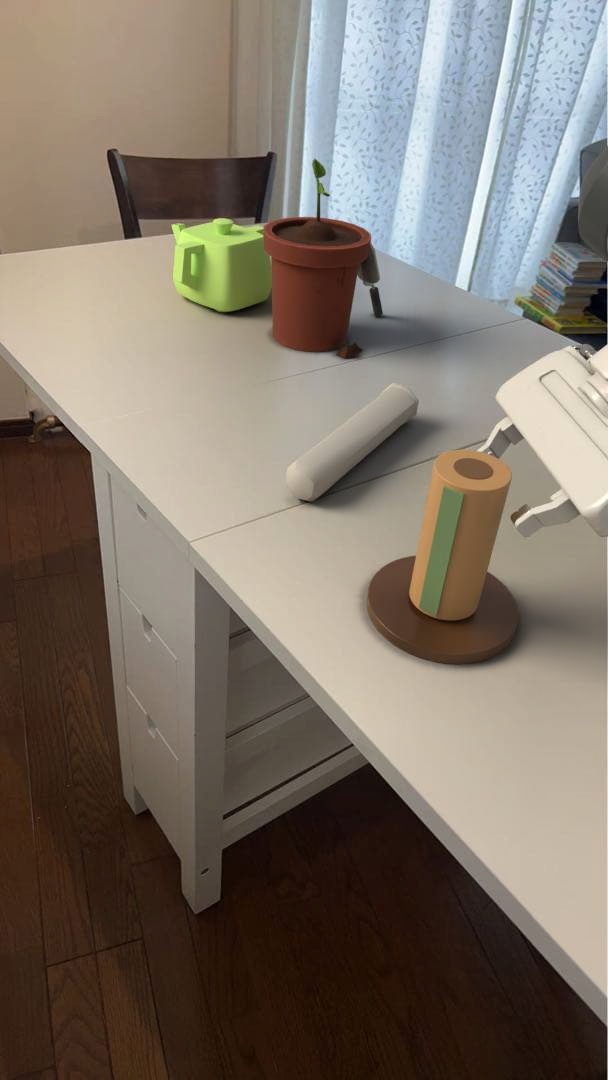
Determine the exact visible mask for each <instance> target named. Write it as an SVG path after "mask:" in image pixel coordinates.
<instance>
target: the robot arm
mask: <svg viewBox="0 0 608 1080" xmlns="http://www.w3.org/2000/svg"><path fill="white" fill-rule="evenodd" d="M577 209H578V211H577V225H578V226H577V227H578V234H579V237H580V238H581V240H582V241H583V242H585V243H586V244H587V245H588V246H589V247H590V248H592V250H593V251H595V252H596V253H597V254H598V255H599V256H601V258H603V260H605V261H606V262H607V263H608V145H607V146H605V148H603V150H602V151H600V153H599V154H598V155H597V157H596V158H595V159H594V160H593V162H591V164H590V165H589V167H588V169H587V170H586V172H585V173H584V176H583V179H582V183H581V186H580V191H579V198H578V207H577ZM494 399H495V401H496V403H497V404H498V406H499V407H500V408H501V409H502V411H503V412H504V413H505V415H506V416H505V417H504V418H503V419H501V420H500V421H499V422H497V423H496V425H495V426H494V428H493V429H492V431H491V433H490V435H489V436H488V438H487V440H486V441H485V444H483V445H482V446H480V447H479V448H478V449H477V450H476V451H479V452H483V453H486V454H489V455H492V456H494V457H496V458H498V459H499V460H500V458H501V457H502V456H503V455H504V453H505V452H506V451H507V449H508V448H509V447H510V445H511V444H512V445H513V446H516V445H517V444H518V443H520V442H521V441H523V440H525V442H526V443H527V444H528V445H529V447H530V448H531V449H532V451H533V452H534V453H535V455H536V456H537V457H538V459H539V460H540V461H541V463H543V466H544V467H545V468H546V469H547V471H548V472H549V473H550V475H551V476H552V477H553V479H554V480H555V482H556V483H557V484H558V486H559V487H560V489H559V490H558V491H556V492H555V493H553V494H552V495H551V496H550V497H549V499H550V500H551V501H550V502H547V503H545V504H542V505H541V504H540V505H539V506H535V507H530V506H529V504H528V503H524V504H523V505H522V506H520V507H519V508H518V510H516V511H514V512H512V513H511V515H510V518H509V519H510V521H511V522H512V524H513V526H514V527H515V529H516V530H517V531H518V533H519V534H520V535H521V536H522V537H524V538H529V537H531V536H532V535H534V534H535V533H536V532H538V531H540V530H541V529H542V528H544V527H545V528H547V527H551V526H557V525H562V524H568V523H570V522H572V521H573V520H574V519H576V518H577V517H578V516H580V515H581V516H582V517H583V519H584V520H585V521H586V523H587V524H588V526H589V527H590V528H591V529H592V530H593V532H595V533H596V534H597V536H599V537H600V538H607V537H608V343H607V344H606V345H605V346H603V347H602V348H601V349H599V350H598V351H596V350H595V348H594V347H593V346H591V345H590V344H587V343H583V344H576V345H568V346H565V347H564V348H562V349H559V350H558V349H557V350H554V351H552V352H550V353H548V354H546V355H544V356H543V357H541V358H539V359H538V360H536V361H534V362H533V363H531V364H530V365H529V366H527V367H525V368H524V369H522V370H521V371H519V372H518V373H516V374H515V375H514V376H512V377H511V378H509V379H508V380H507V381H505V382H504V383H503V384H502V385H500V387H499V388H498V390H497V392H496V394H495V397H494Z"/></svg>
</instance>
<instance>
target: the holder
mask: <svg viewBox="0 0 608 1080" xmlns="http://www.w3.org/2000/svg"><path fill="white" fill-rule="evenodd" d="M415 560H416V555H410V556H405V557H401V558H398V559H395V560H392V561H391V562H389V563H387V564H385V565H384V566H382V567H381V568H380V569H379V570H378V571H377V572H376V573H375V574H374V575H373V577H372V578H371V580H370V582H369V586H368V589H367V595H366V608H367V609H366V610H367V612H368V617H369V619H370V621H371V623H372V625H373V626H374V627H375V630H377V632H378V633H379V634H380V635H382V637H383V638H384V639H386V640H387V641H388V642H389V643H391V644H392V645H393V646H394V647H397V648H398V649H399V650H401V651H403V652H405V653H407V654H409V655H412V656H415V657H418V658H419V659H422V660H427V661H429V662H435V663H442V664H448V665H449V664H450V665H451V664H452V665H463V664H464V665H465V664H472V663H478V662H481V661H484V660H488V659H490V658H492V657H494V656H496V655H498V654H499V653H501V652H502V651H504V649H506V648H507V647H508V646H509V645H510V643H511V642H512V640H513V638H514V635H515V633H516V630H517V626H518V624H519V623H518V622H519V615H520V614H519V608H518V605H517V602H516V599H515V597H514V595H513V594H512V592H511V591H510V590H509V588H508V587H507V586H506V585H505V584H504V583H503V582H502V581H501V580H500V579H498V578H497V577H496V576H495V575H493V574H492V573H490V572H489V571H487V574H486V577H485V581H484V585H483V589H482V593H481V596H480V600H479V604H478V607H477V609H476V611H475V612H474V613H473V614H472V615H471V616H469V617H467V618H464V619H461V620H452V621H451V620H441V619H437V618H434V617H431V616H429V615H427V614H425V613H423V612H422V611H420V610H419V609H418V608H417V607H416V606H415V605H414V604H413V602H412V601H411V598H410V594H409V591H410V586H411V580H412V575H413V570H414V565H415Z"/></svg>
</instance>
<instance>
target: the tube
mask: <svg viewBox="0 0 608 1080" xmlns="http://www.w3.org/2000/svg"><path fill="white" fill-rule="evenodd" d="M419 403H420V401H419V398H418V397H417V395H416V394H415V393H414V392H413V390H412V389H411V388H410V387H409V386H406V385H404V384H401V383H399V382H398V383H397V382H394V381H393V382H392V383H391V384H390V385H388V386H387V387H386V388H385V389H384V390H383V391H382V392H381V394H379V395H378V396H377V397H376V398H374V399H373V400H372V401H370V402H369V403H368V404H366V405H365V406H364V407H363V408H361V409H360V410H359V411H358V412H356V413H355V414H354V415H352V416H351V417H350V418H349V419H347V420H345V421H344V422H343V423H342V424H341V425H339V426H338V427H337V428H336V429H335V430H333V431H332V432H330V434H328V435H326V436H325V437H324V438H323V439H322V440H321V441H318V442H317V443H316V444H315V445H314V446H312V448H310V449H309V450H307V451H306V452H305V453H304V454H302V455H301V456H300V457H299V458H297V459H296V460H295V461H293V462H292V463H291V464H290V465H289V466H288V467H287V469H286V472H285V483H286V488H287V489H288V491H289V492H290V494H291V497H292V498H293V499H298V500H303V501H308V502H311V503H312V502H314V501H315V500H317V499H318V498H319V497H321V496H322V495H323V494H324V493H325V492H326V491H328V490H329V489H330V488H331V487H332V486H334V485H335V483H337V482H338V481H339V480H340V479H341V478H342V477H343V476H345V475H346V474H347V473H349V472H350V471H351V470H352V469H353V468H354V467H355V466H356V465H357V464H359V463H360V462H361V461H362V460H364V458H366V457H367V456H368V455H369V454H370V453H372V452H373V450H375V449H376V448H377V447H378V446H379V445H380V444H382V443H383V442H384V441H385V440H386V439H388V438H389V437H390V436H391V435H392V434H393V433H394V432H395V431H397V430H398V429H399V428H400V427H401V426H402V425H406V423H408V422H409V421H410V420H411V419H414V417H415V416H416V415H417V414H418V407H419Z"/></svg>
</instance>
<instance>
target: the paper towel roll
mask: <svg viewBox="0 0 608 1080" xmlns="http://www.w3.org/2000/svg"><path fill="white" fill-rule="evenodd" d="M432 466H433V467H432V472H431V477H430V482H429V488H428V493H427V498H426V503H425V508H424V513H423V520H422V523H421V530H420V534H419V540H418V545H417V551H416V555H415V556H416V560H415V565H414V570H413V575H412V580H411V586H410V591H409V594H410V598H411V601H412V602H413V604H414V605H415V606H416V607H417V608H418V609H419V610H420V611H422V612H423V613H425V614H427V615H429V616H431V617H434V618H437V619H441V620H451V621H452V620H461V619H464V618H467V617H469V616H471V615H472V614H473V613H474V612H475V611H476V609H477V607H478V604H479V600H480V596H481V593H482V589H483V585H484V581H485V577H486V574H487V572H488V570H489V567H490V562H491V559H492V555H493V551H494V546H495V543H496V540H497V536H498V531H499V528H500V524H501V520H502V517H503V513H504V510H505V509H504V508H505V505H506V501H507V498H508V494H509V490H510V486H511V484H512V483H511V482H512V479H513V475H512V471H511V469H510V467H509V466H508V465H507V464H506V463H505V462H504V461H502V460H501V459H500V458H499V459H498V458H496V457H494V456H492V455H489V454H486V453H483V452H479V451H477V450H474V449H453V450H447V451H445V452H442V453H441V454H440V455H438V456H436V458H435V460H434V462H433V465H432Z"/></svg>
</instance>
